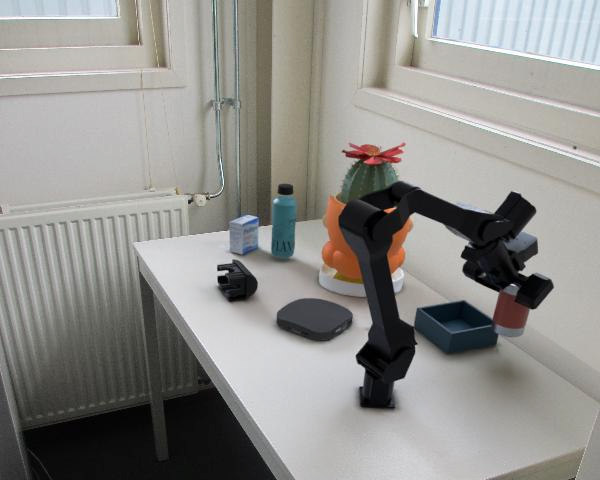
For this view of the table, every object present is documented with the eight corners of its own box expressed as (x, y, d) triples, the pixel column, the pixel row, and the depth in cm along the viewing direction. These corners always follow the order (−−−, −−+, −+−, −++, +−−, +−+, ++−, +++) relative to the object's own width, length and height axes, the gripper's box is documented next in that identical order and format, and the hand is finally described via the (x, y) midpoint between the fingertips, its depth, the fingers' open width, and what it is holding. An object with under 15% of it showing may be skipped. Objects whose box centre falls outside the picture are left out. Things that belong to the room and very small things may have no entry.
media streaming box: (306, 303, 161) (306, 292, 160) (358, 321, 155) (359, 310, 153) (269, 325, 151) (269, 312, 149) (323, 345, 144) (324, 333, 143)
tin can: (529, 335, 139) (543, 286, 133) (501, 338, 137) (514, 288, 131) (512, 321, 144) (524, 273, 138) (484, 324, 142) (496, 275, 136)
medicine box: (242, 255, 185) (242, 224, 180) (229, 251, 187) (228, 221, 182) (258, 247, 190) (259, 217, 186) (245, 243, 192) (246, 213, 188)
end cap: (258, 299, 162) (258, 273, 158) (229, 303, 159) (229, 276, 156) (243, 283, 169) (244, 257, 166) (216, 286, 167) (216, 260, 163)
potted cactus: (317, 268, 180) (327, 130, 161) (400, 272, 181) (420, 135, 161) (319, 302, 162) (330, 152, 143) (411, 307, 163) (435, 158, 143)
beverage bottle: (267, 260, 182) (269, 186, 171) (275, 252, 188) (277, 179, 177) (290, 264, 181) (293, 189, 170) (297, 256, 186) (301, 183, 175)
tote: (496, 344, 149) (501, 324, 146) (447, 354, 144) (451, 333, 141) (460, 319, 159) (464, 299, 156) (413, 327, 154) (416, 307, 151)
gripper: (561, 238, 119) (583, 285, 131) (484, 207, 132) (510, 253, 143) (520, 287, 120) (545, 330, 131) (447, 252, 133) (476, 294, 144)
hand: (519, 299), depth 137 cm, fingers closed on tin can, 7 cm apart
